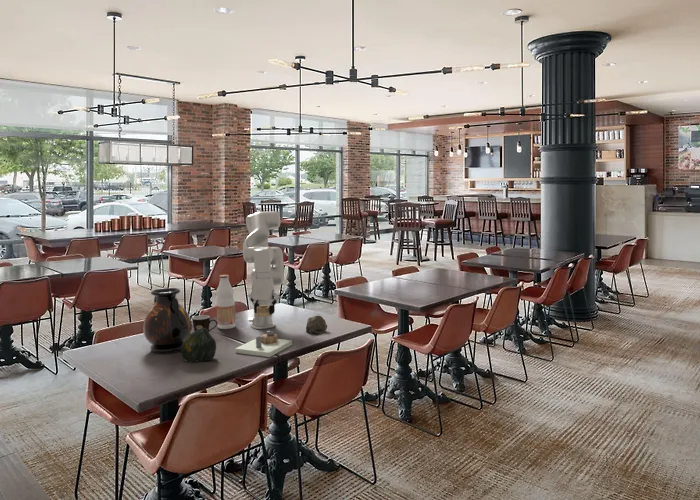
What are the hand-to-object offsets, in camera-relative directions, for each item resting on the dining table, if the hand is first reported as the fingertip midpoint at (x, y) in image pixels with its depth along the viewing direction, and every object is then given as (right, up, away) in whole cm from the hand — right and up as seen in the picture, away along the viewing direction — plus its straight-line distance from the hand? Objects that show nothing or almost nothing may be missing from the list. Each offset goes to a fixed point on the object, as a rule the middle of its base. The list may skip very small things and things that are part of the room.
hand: (264, 312), depth 260 cm
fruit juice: (-26, -12, +40) cm, 49 cm away
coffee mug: (-33, -15, +21) cm, 42 cm away
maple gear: (0, -1, 0) cm, 1 cm away
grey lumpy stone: (+22, -13, +27) cm, 38 cm away
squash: (-26, -19, -14) cm, 35 cm away
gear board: (0, -17, 0) cm, 17 cm away
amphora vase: (-45, -17, +3) cm, 48 cm away
